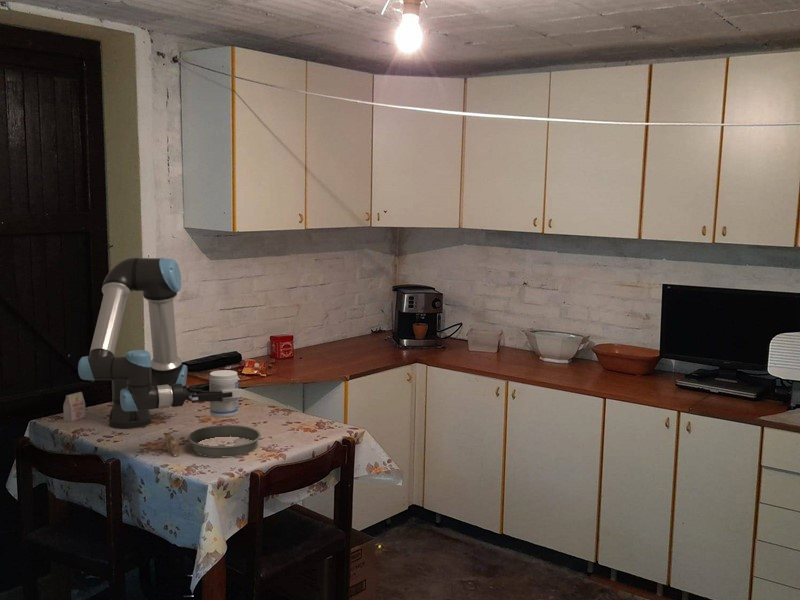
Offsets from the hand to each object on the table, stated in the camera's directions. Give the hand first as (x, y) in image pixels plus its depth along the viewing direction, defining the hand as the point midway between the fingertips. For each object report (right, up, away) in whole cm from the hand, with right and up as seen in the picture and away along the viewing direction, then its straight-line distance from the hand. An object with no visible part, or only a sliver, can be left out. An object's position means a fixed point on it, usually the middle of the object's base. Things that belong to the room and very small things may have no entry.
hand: (236, 389), depth 266 cm
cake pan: (-4, -20, +1) cm, 21 cm away
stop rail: (-21, -20, -4) cm, 29 cm away
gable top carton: (-67, -15, +28) cm, 74 cm away
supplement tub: (-4, -9, -1) cm, 10 cm away
